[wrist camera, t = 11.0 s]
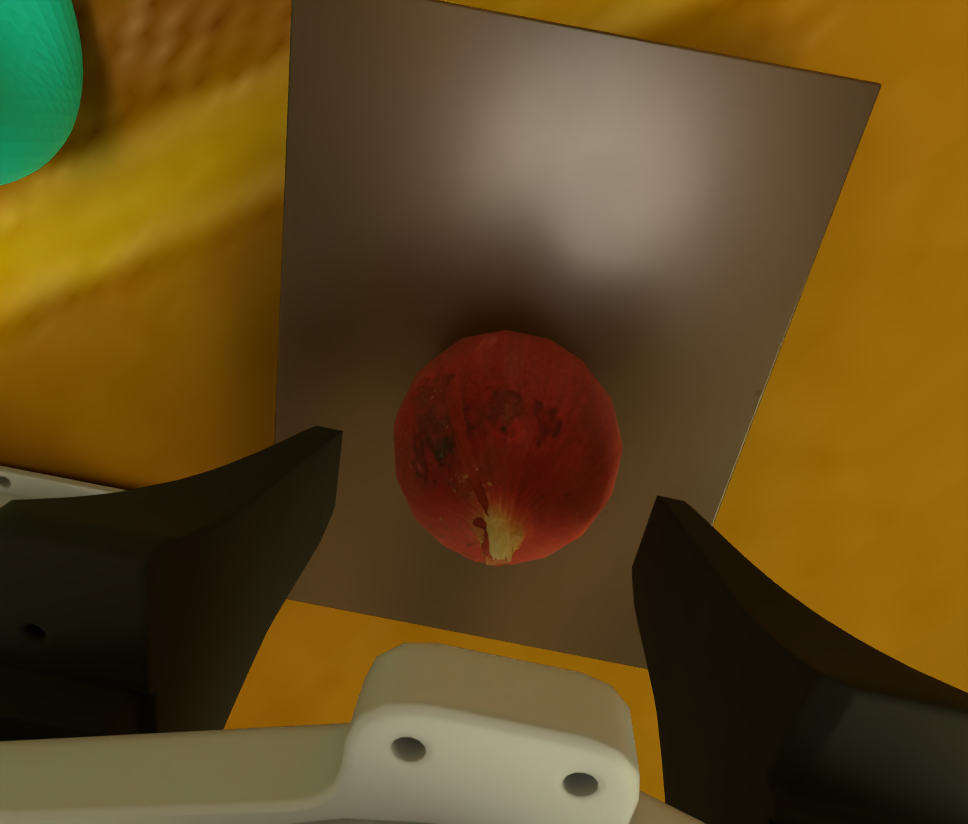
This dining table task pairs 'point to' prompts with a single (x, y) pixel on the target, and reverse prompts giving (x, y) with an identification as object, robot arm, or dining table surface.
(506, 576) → the platform
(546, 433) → the onion
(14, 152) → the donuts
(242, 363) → the dining table surface
